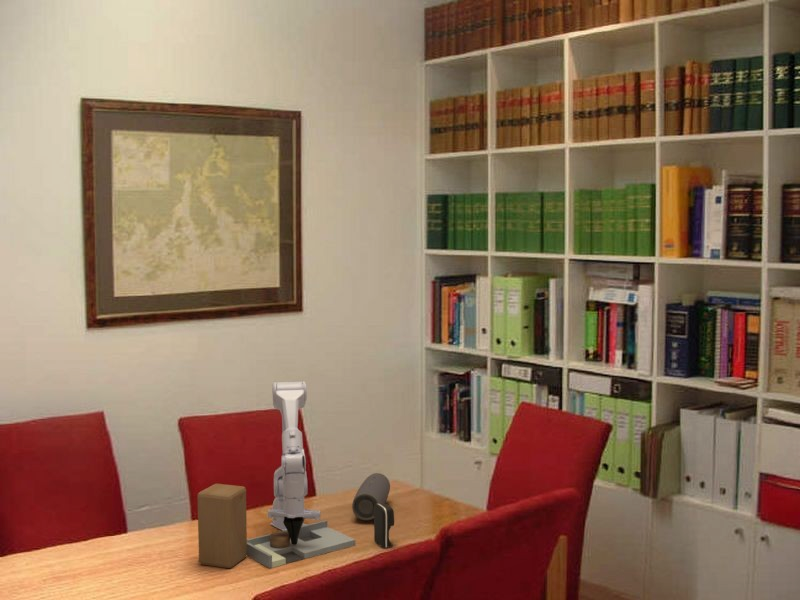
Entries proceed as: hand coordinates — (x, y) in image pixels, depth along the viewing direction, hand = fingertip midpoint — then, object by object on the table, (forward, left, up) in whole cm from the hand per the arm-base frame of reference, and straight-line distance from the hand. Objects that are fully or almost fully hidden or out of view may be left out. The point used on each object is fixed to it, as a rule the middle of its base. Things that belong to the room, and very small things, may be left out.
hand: (294, 543), depth 275 cm
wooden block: (-6, -19, -2) cm, 20 cm away
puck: (-3, -3, -1) cm, 4 cm away
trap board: (0, +2, -2) cm, 3 cm away
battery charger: (+11, +23, -2) cm, 26 cm away
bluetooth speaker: (-14, +37, -2) cm, 39 cm away
